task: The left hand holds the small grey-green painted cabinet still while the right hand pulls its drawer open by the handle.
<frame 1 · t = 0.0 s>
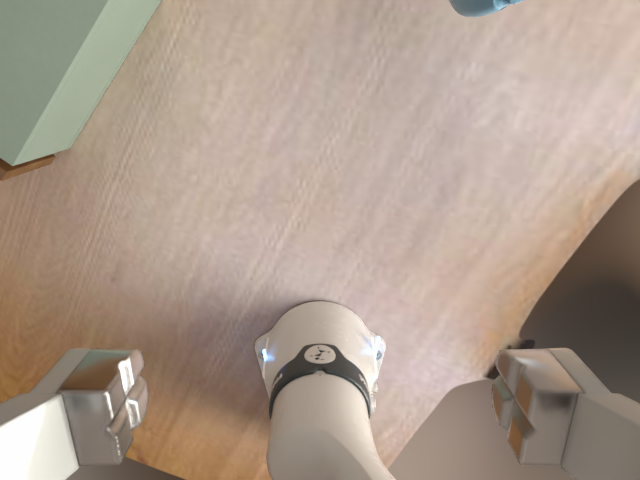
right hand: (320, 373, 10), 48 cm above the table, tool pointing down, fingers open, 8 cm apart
drawer: (19, 91, 49), point 6 cm above the table, slide at 1.5 cm
cabinet: (73, 46, 52), on the table
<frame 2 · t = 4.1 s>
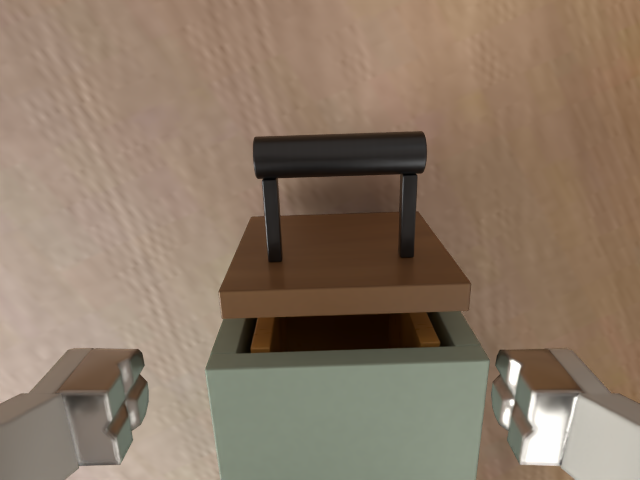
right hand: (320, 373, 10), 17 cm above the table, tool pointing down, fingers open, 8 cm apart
drawer: (341, 374, 24), point 6 cm above the table, slide at 1.5 cm
cabinet: (337, 395, 31), on the table, touching left hand
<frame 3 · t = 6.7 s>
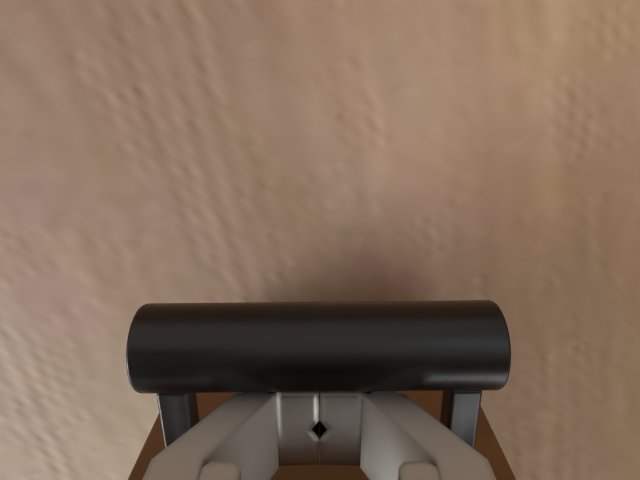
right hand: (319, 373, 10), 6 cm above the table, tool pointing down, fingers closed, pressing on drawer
when the left hand's fingers open (7 cm above the table, at t = 9.3 s): cabinet stays where it is, on the table.
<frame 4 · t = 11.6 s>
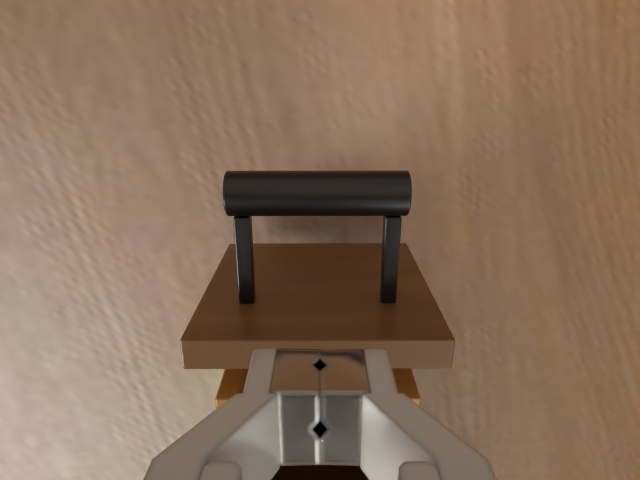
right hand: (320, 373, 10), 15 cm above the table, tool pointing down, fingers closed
drawer: (318, 415, 22), point 6 cm above the table, slide at 6.7 cm
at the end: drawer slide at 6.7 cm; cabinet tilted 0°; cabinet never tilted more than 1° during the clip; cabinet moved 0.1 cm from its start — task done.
